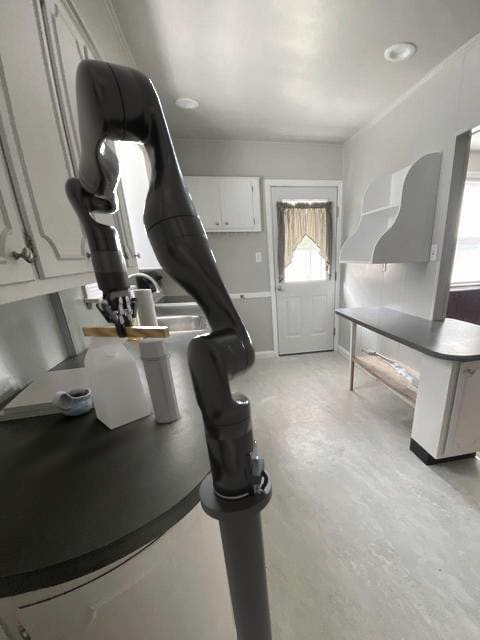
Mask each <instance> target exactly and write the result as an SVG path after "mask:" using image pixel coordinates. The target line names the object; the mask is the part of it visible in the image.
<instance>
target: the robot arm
mask: <svg viewBox="0 0 480 640" xmlns="http://www.w3.org/2000/svg"><path fill="white" fill-rule="evenodd" d="M74 84H75V85H74V86H75V99H76V113H77V125H78V135H79V142H80V158H79V163H78V170H77V177H74V176H72V177H71V176H70V177H68V179H66V181H65V183H64V192H65V195H66V198H67V200H68V202H69V204H70V206H71V208H72V209H73V211H74V213H75V215H76V217H77V218H78V220H79V222H80V224H81V227H82V229H83V231H84V234H85V238H86V241H87V245H88V249H89V251H90V252H89V253H90V260H91V261H90V262H91V265H92V268H93V269H92V270H93V273H94V277H95V280H96V285H97V288H98V290H99V291H101V293H102V300H101V301H100V302H96V303H95V307H96V309H97V310H98V312H99V314H101V315H102V317H103V318H104V320H105V321H106V322H107V323H108V324H113V326H115V328H116V332H117V335H118V336H119V337H118V339H125V338H128V337H127V334H126V330H125V326H133V321H134V319H137V314H138V306H139V298H138V297H134V296H132V295H131V293H130V291H129V290H130V289H131V283H130V282H131V281H130V278H129V273H128V269H127V263H126V260H125V257H124V255H123V252H122V246H121V242H120V238H119V234H118V233H119V232H118V231H117V229H116V227H115V226H112V225H111V224H107V223H103V222H99V221H97V220H96V219H94V217H93V216H92V215H91V214H98V215H99V214H100V215H101V214H102V215H112V214H115V213H116V212H117V211H118V210H119V197H118V194H117V187H118V185H119V182H120V178H121V175H122V174H121V173H122V171H121V170H122V169H121V164H120V160H119V158H118V156H117V154H116V153H115V151H114V149H113V148H112V147H111V146H110V144H109V143H108V141H111V142H115V143H127V144H138V145H142V147H143V148H144V149H145V151H146V153H147V156H148V159H149V160H148V161H149V163H150V180H149V185H148V188H147V193H146V197H145V202H144V207H143V214H142V223H143V228H144V231H145V234H146V236H147V239H148V242H149V244H150V246H151V248H152V251H153V254H154V256H155V258H156V260H157V262H158V264H159V266H160V267H161V269H162V270H163V272H165V274H166V276H168V278H170V279H171V280H172V281H173V282H174V283H175V284H176V285H177V286H178V287H179V288H180V289H181V290H182V291H184V292H185V293H186V294H187V296H189V297H190V298H191V299H192V300H193V301H194V302H195V303H196V305H197V306H198V307H199V309H200V310H201V312H202V314H203V315H204V316H205V319H206V321H207V324H208V326H209V327H210V330H211V331H209V332H206V333H202V334H198V335H197V336H195V337H193V338H191V339H190V341H189V342H188V345H187V350H186V361H187V366H188V371H189V376H190V380H191V383H192V388H193V392H194V398H195V400H196V401H195V402H196V405H197V406H198V408H199V410H200V412H201V413H200V414H201V418H202V423H203V430H204V435H205V442H206V449H207V456H208V461H209V468H210V473H211V474H212V480H213V490H214V493H215V494H216V496H217V497H219V498H220V499H223V500H227V501H236V500H241V499H244V498H246V497H248V496H254V495H255V492H256V488H257V486H258V485H260V484H261V480H262V476H263V477H264V483H263V484H262V486H261V489H262V490H264V489H265V487H266V486H267V484H268V476H267V474H266V473H265V471H264V469H266V468H265V467H266V466H265V465H266V464H265V459H264V458H259V455H258V453H259V452H258V444H257V443H258V442H257V440H256V439H254V430H253V419H252V418H253V417H252V406H251V405H252V404H251V400H250V398H249V396H247V395H246V394H244V393H241V392H238V391H232V390H231V385H230V382H231V381H233V380H236V379H239V378H240V377H242V376H245V375H246V374H249V372H251V371H252V370H253V369H254V366H255V363H256V350H255V347H254V344H253V340H252V339H251V336H250V334H249V332H248V330H247V328H246V325H245V323H244V322H243V319H242V317H241V315H240V313H239V312H238V311H239V310H238V309H237V307H236V305H235V304H234V302H233V300H232V297H231V294H230V292H229V290H228V287H227V286H226V283H225V280H224V278H223V276H222V274H221V271H220V267H219V266H218V264H217V261H216V258H215V256H214V253H213V250H212V247H211V244H210V242H209V238H208V236H207V234H206V231H205V228H204V226H203V223H202V220H201V218H200V215H199V214H198V211H197V209H196V206H195V204H194V202H193V199H192V196H191V194H190V191H189V188H188V185H187V183H186V180H185V177H184V175H183V172H182V170H181V165H180V162H179V159H178V157H177V153H176V150H175V147H174V143H173V140H172V136H171V134H170V129H169V126H168V123H167V120H166V117H165V113H164V110H163V106H162V104H161V100H160V97H159V95H158V93H157V90H156V88H155V86H154V84H153V82H152V80H151V79H150V78H149V76H148V75H147V74H146V73H144V72H143V71H142V70H139V69H136V68H135V67H130V66H126V65H122V64H118V63H112V62H109V61H104V60H98V59H94V58H85V59H82V60H81V61H80V62H79V63H78V65H77V67H76V72H75V83H74Z"/></svg>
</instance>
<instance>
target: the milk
mask: <svg viewBox="0 0 480 640" xmlns="http://www.w3.org/2000/svg"><path fill="white" fill-rule="evenodd" d="M83 363H84V368H85V372H86V377H87V381H88V385H89V390H90V391H91V398H92V401H93V406H94V411H95V415H96V419H98V420H99V421H100V422H101V423H103V424H104V425H105V426H106V427H107V428H109V430H114V429H116V428H120V427H122V426H124V425H127V424H129V423H132V422H135V421H138V420H140V419H143V418H145V417H148V416H151V414H152V413H151V410H150V406H149V403H148V399H147V396H146V393H145V389H144V385H143V383H142V378H141V376H140V373H139V369H138V368H139V367H138V366H137V362H136V360H135V358H134V356H133V354H132V353H131V352H130V351H129V350H128V349H127V348H126V347H125V346H124V344H123V343H122V342H121V341H120V340H119V337H90V336H89V343H88V349H87V351H86V354H85V357H84V359H83Z"/></svg>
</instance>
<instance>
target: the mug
mask: <svg viewBox="0 0 480 640" xmlns="http://www.w3.org/2000/svg"><path fill="white" fill-rule="evenodd" d="M51 404H52V406H53V407H54V408H55V409H57V410H59V411H60V413H62V415H65V416H67V417H79V416H83V415H85V414H87V413H89V412H90V410H91V409H92V407H93V406H94V403H93V399H92V394H91V390H90V388H87V387H86V388H85V387H84V388H83V387H80V388H74V389H70V390H67V391H63V390H60V391H56V392H55V393H53V395H52V397H51Z"/></svg>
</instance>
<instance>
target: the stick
mask: <svg viewBox="0 0 480 640" xmlns="http://www.w3.org/2000/svg"><path fill="white" fill-rule="evenodd" d="M81 330H82V333H83V337H89V338H90V337H117V338H119V336H118V335H117V332H116V328H115V325H86V326H82V327H81ZM125 330H126V334H127V337H126V338H137V339H139V338H140V339H146V338H163V339H167V338H169V337H171V335H170V330H169V326H133V325H132V326H125Z"/></svg>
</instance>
